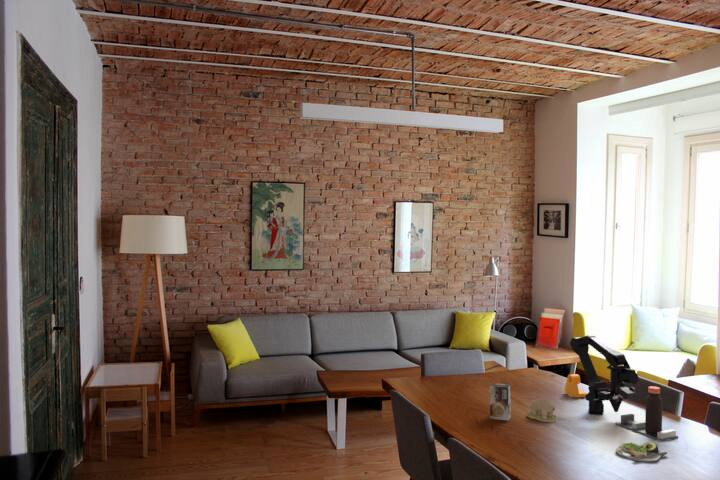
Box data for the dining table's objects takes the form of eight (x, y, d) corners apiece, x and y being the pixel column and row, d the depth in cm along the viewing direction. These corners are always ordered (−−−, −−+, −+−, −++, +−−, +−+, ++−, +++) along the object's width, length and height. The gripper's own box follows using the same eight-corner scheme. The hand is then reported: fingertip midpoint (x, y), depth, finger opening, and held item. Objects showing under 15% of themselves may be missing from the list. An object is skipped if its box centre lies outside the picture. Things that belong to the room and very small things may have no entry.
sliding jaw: (619, 423, 285) (619, 415, 285) (633, 420, 289) (633, 413, 288) (635, 429, 276) (635, 421, 276) (649, 426, 280) (650, 419, 280)
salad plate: (656, 469, 233) (656, 457, 233) (608, 457, 245) (608, 446, 244) (669, 455, 248) (669, 444, 247) (624, 444, 259) (624, 434, 259)
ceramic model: (559, 418, 295) (560, 397, 295) (552, 424, 286) (553, 403, 286) (531, 413, 303) (531, 393, 303) (523, 418, 294) (523, 398, 294)
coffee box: (511, 417, 295) (511, 384, 295) (508, 421, 289) (508, 387, 289) (492, 414, 299) (492, 382, 299) (489, 418, 293) (489, 385, 293)
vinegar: (664, 432, 273) (665, 387, 272) (657, 435, 268) (658, 390, 268) (649, 428, 278) (650, 384, 278) (642, 431, 274) (643, 387, 273)
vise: (615, 424, 285) (615, 417, 285) (632, 421, 290) (633, 415, 290) (660, 441, 263) (660, 433, 263) (678, 437, 267) (678, 430, 267)
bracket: (587, 398, 331) (587, 376, 330) (575, 398, 329) (575, 376, 329) (575, 393, 341) (576, 371, 341) (564, 393, 340) (564, 372, 339)
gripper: (615, 385, 281) (614, 419, 281) (644, 381, 288) (644, 414, 289) (597, 380, 291) (596, 412, 291) (625, 376, 299) (625, 408, 299)
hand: (616, 411), depth 292 cm, fingers closed
